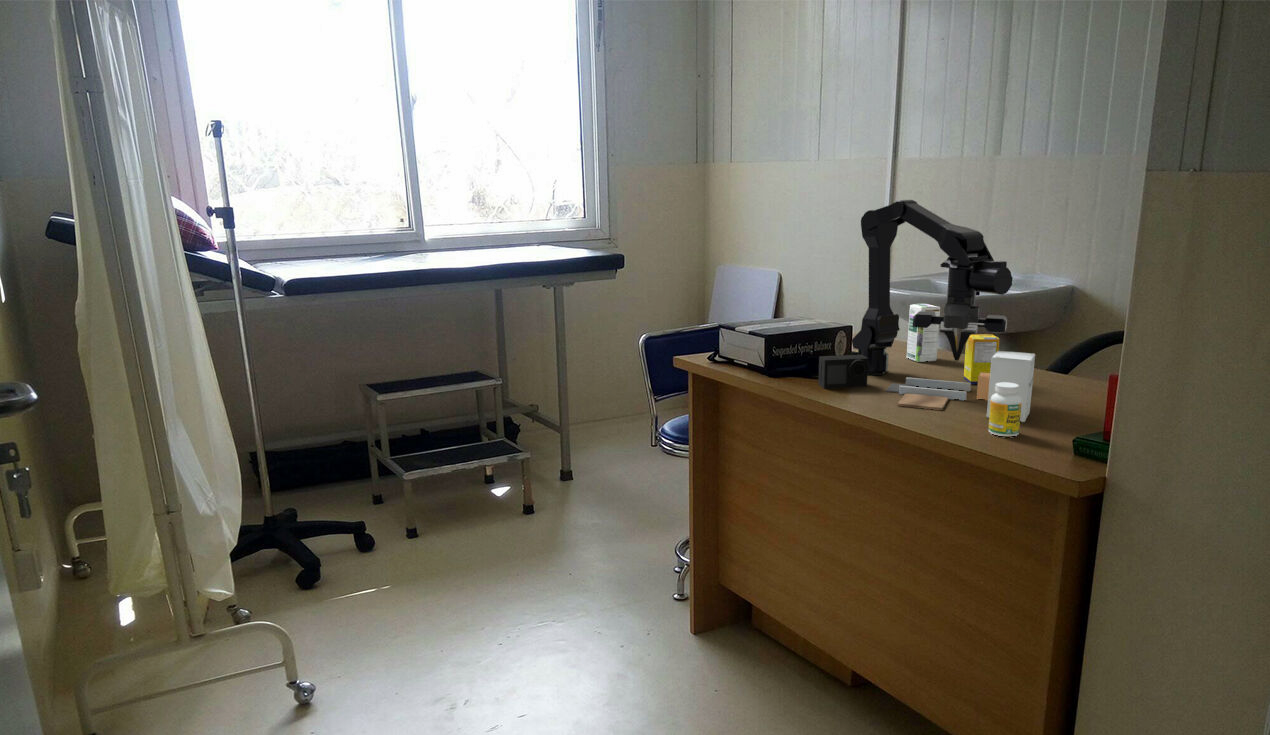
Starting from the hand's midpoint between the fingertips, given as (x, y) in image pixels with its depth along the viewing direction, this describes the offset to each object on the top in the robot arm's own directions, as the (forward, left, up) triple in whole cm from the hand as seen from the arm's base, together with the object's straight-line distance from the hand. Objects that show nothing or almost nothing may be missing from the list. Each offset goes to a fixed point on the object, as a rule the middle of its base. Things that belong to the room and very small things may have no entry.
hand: (956, 360), depth 181 cm
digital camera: (-24, -2, -8) cm, 26 cm away
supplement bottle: (+12, -26, -8) cm, 30 cm away
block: (+7, 0, -8) cm, 11 cm away
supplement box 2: (+12, -13, -8) cm, 19 cm away
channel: (-4, 0, -8) cm, 9 cm away
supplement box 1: (+4, +14, -8) cm, 17 cm away
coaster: (-5, -10, -8) cm, 14 cm away
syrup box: (-12, +33, -8) cm, 36 cm away
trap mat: (-12, 0, -8) cm, 14 cm away
